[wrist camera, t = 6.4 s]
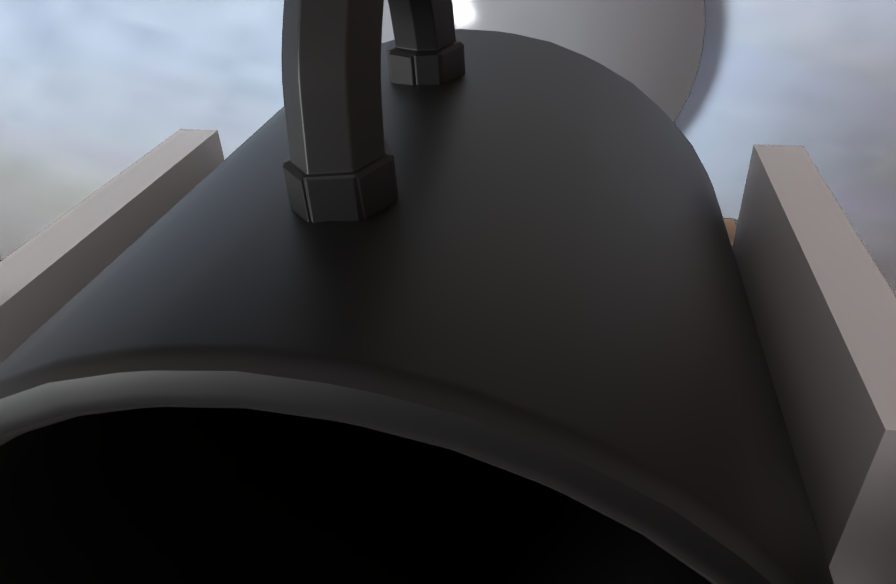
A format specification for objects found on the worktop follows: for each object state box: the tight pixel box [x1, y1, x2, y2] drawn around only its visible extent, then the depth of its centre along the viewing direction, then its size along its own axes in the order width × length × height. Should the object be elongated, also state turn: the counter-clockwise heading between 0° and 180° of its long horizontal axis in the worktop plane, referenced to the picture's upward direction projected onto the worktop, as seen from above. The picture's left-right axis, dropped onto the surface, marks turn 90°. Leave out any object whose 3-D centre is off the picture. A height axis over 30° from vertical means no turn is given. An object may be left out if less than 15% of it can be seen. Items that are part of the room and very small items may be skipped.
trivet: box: [382, 0, 705, 122], centre depth 22 cm, size 11×11×1 cm
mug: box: [0, 0, 834, 584], centre depth 10 cm, size 9×12×9 cm
